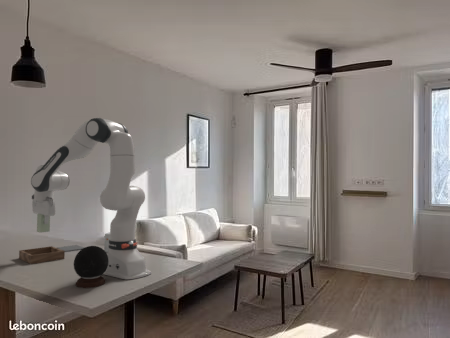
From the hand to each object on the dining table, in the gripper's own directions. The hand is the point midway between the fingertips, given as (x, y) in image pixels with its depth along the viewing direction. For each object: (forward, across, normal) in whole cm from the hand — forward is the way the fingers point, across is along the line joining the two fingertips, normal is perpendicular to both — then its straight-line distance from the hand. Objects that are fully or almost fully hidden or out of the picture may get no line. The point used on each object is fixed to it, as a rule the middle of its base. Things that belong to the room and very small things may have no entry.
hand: (43, 223), depth 175 cm
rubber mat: (+18, +14, -21) cm, 31 cm away
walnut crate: (+18, 0, 0) cm, 18 cm away
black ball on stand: (+19, -54, +2) cm, 58 cm away
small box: (+19, -8, -35) cm, 40 cm away
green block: (+4, 0, 0) cm, 4 cm away
